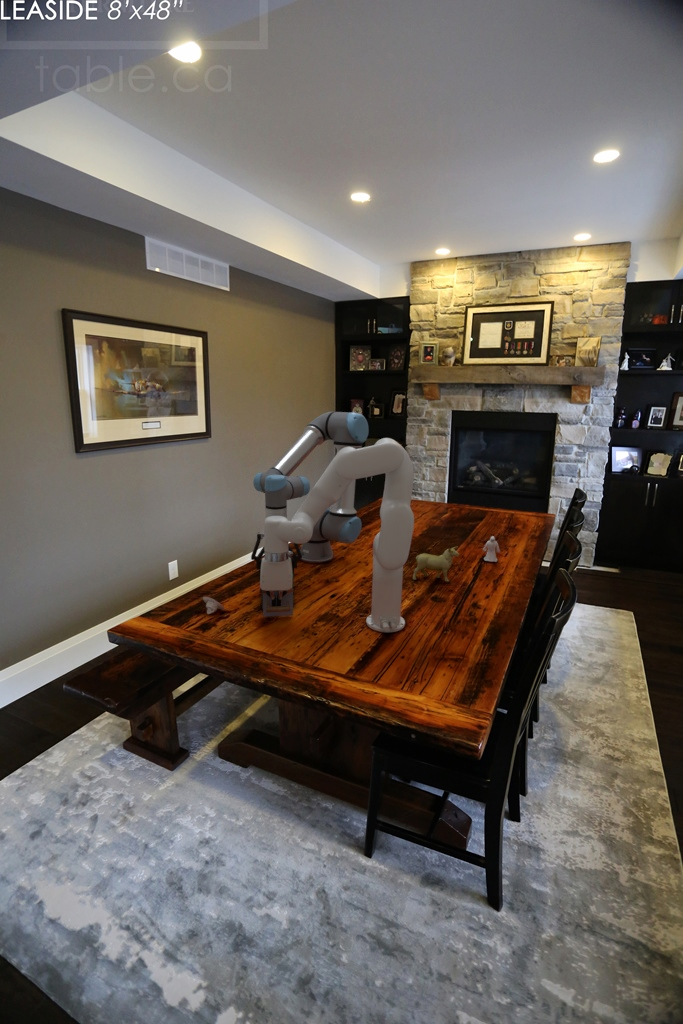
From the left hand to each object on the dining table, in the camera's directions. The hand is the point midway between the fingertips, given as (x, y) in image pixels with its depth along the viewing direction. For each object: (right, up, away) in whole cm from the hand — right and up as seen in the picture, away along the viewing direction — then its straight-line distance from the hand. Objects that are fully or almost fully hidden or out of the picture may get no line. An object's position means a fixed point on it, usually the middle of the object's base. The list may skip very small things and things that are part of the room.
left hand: (277, 576), depth 183 cm
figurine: (+91, +2, +42) cm, 100 cm away
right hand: (+3, -8, -22) cm, 23 cm away
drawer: (+2, -9, -14) cm, 17 cm away
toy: (+61, -4, +18) cm, 64 cm away
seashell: (-20, -10, -14) cm, 26 cm away
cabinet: (0, -8, -2) cm, 8 cm away
